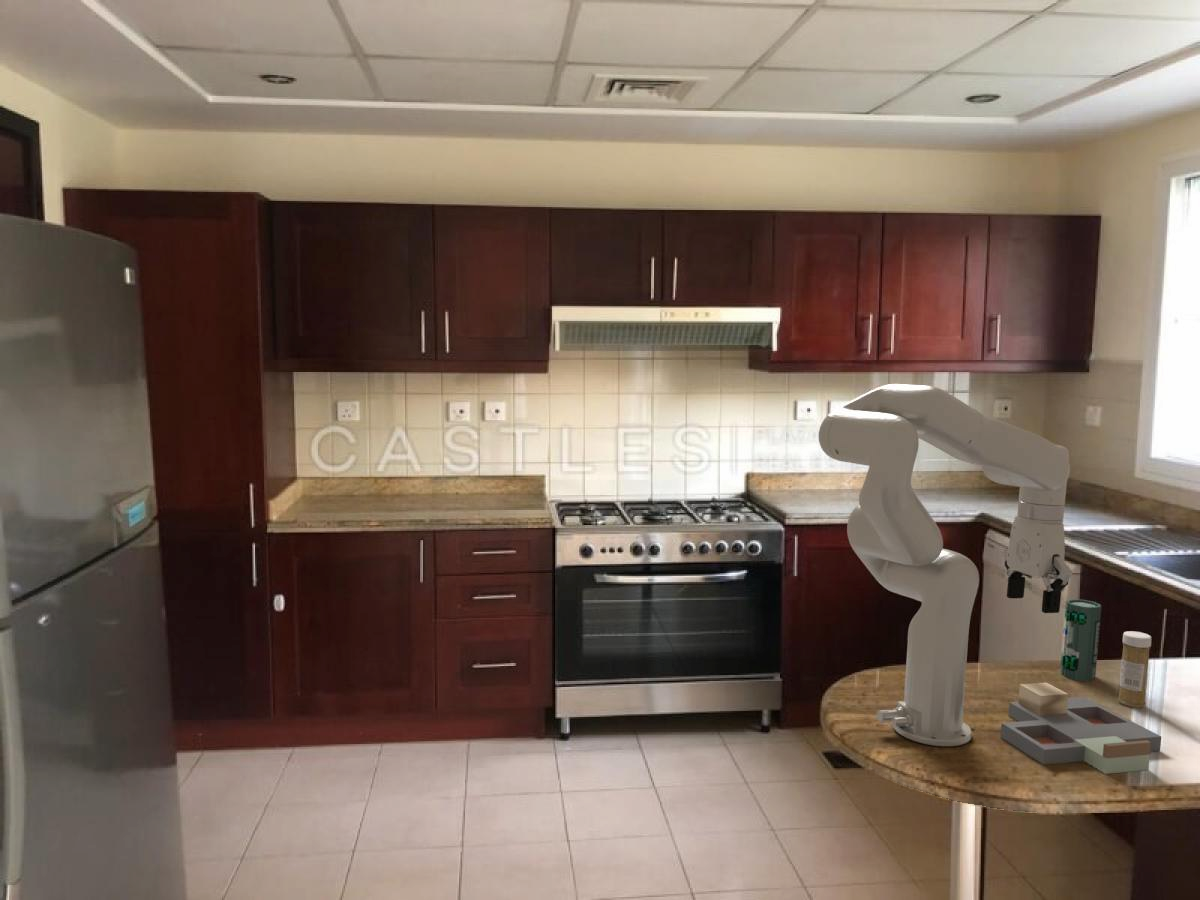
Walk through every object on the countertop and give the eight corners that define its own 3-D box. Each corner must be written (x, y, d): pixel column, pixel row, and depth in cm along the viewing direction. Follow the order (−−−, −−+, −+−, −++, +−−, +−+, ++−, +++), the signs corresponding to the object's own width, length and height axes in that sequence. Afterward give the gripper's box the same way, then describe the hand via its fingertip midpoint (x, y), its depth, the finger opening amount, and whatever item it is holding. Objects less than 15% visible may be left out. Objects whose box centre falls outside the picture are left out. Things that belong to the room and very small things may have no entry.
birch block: (1039, 715, 159) (1040, 695, 159) (1018, 703, 164) (1019, 684, 164) (1066, 713, 160) (1068, 693, 160) (1044, 701, 166) (1046, 682, 165)
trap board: (1063, 777, 141) (1065, 749, 141) (971, 718, 163) (973, 694, 163) (1188, 765, 146) (1190, 738, 146) (1082, 709, 169) (1084, 686, 168)
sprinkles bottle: (1150, 705, 172) (1156, 635, 170) (1137, 710, 169) (1144, 639, 168) (1124, 697, 175) (1131, 628, 174) (1112, 702, 173) (1118, 632, 171)
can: (1058, 668, 191) (1064, 598, 189) (1091, 672, 189) (1097, 601, 187) (1063, 678, 185) (1069, 605, 183) (1097, 682, 183) (1103, 609, 181)
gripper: (992, 504, 174) (984, 593, 175) (1055, 521, 157) (1046, 619, 159) (1027, 504, 175) (1019, 592, 177) (1093, 521, 158) (1084, 618, 160)
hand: (1032, 605), depth 168 cm, fingers open, 9 cm apart
